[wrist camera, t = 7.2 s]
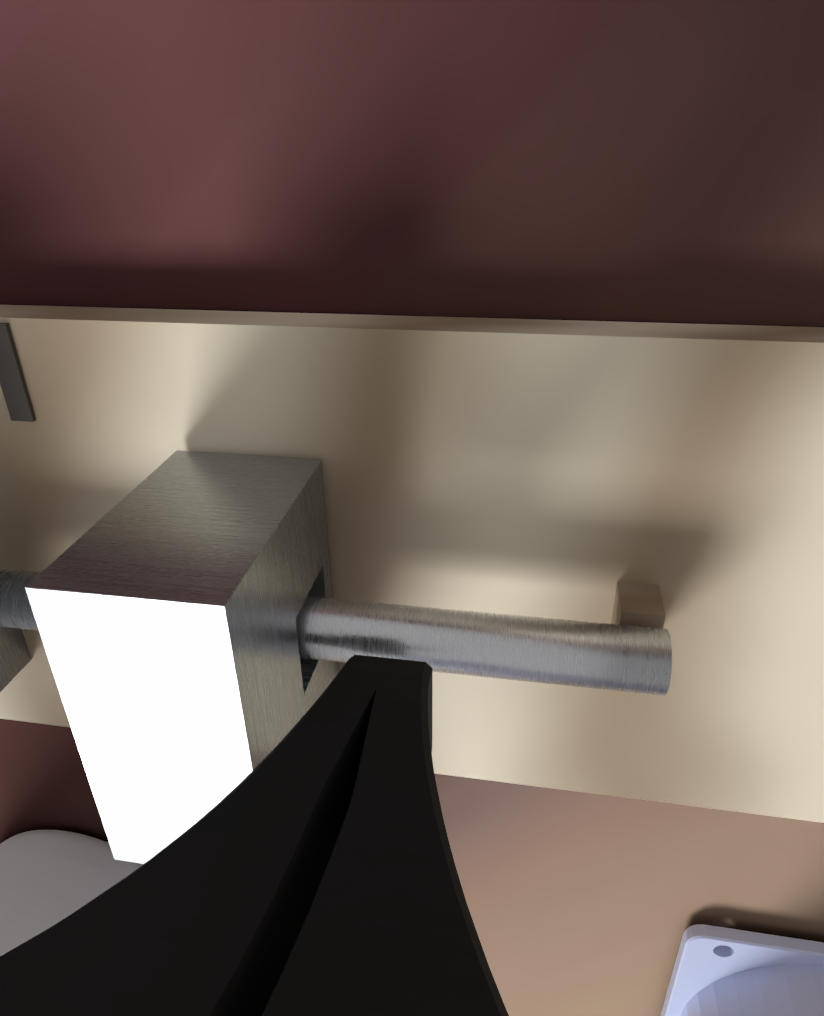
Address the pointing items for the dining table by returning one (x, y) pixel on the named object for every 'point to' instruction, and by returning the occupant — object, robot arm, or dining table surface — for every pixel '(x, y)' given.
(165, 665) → the grey block with hole
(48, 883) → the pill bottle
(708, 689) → the bolt board
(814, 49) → the dining table surface
